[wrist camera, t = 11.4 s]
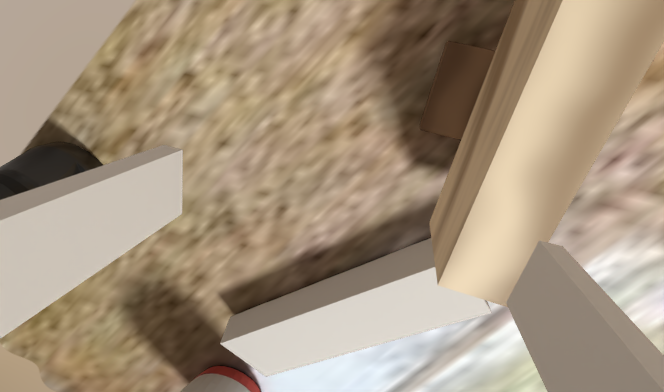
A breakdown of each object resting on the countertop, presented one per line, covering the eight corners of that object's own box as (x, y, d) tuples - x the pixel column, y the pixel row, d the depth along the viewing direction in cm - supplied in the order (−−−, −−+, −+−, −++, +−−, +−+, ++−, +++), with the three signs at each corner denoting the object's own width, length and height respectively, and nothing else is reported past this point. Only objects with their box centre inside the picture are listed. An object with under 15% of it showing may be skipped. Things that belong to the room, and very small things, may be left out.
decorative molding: (479, 279, 41) (448, 227, 36) (491, 312, 37) (458, 258, 32) (273, 346, 53) (231, 313, 49) (265, 376, 49) (219, 343, 45)
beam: (429, 222, 32) (437, 285, 23) (545, -79, 22) (642, -181, 13) (480, 237, 31) (510, 307, 22) (622, -65, 21) (781, -163, 12)
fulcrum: (419, 126, 33) (421, 135, 29) (446, 42, 30) (452, 38, 26) (538, 155, 32) (560, 170, 27) (580, 71, 29) (612, 72, 24)
